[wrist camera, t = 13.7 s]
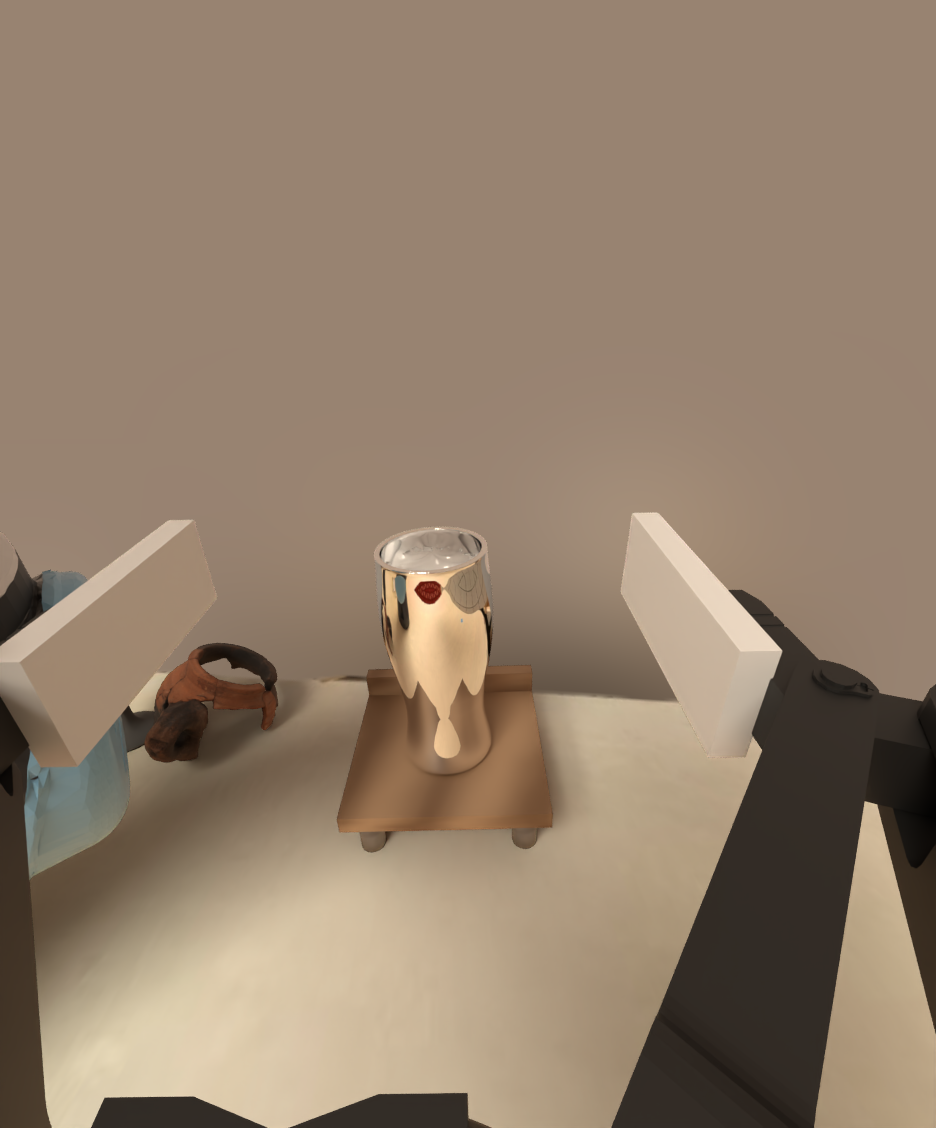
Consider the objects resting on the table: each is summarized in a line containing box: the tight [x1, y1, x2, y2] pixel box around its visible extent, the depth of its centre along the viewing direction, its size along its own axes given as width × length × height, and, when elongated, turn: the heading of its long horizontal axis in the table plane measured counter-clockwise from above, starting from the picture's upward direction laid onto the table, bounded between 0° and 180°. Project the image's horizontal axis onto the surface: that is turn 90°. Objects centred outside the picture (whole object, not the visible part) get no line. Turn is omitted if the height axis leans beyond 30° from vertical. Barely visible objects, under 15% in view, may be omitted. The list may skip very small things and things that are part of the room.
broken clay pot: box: [145, 643, 278, 763], centre depth 41 cm, size 12×10×8 cm
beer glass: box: [374, 527, 493, 775], centre depth 32 cm, size 7×7×15 cm
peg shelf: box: [337, 665, 553, 852], centre depth 36 cm, size 13×12×6 cm
